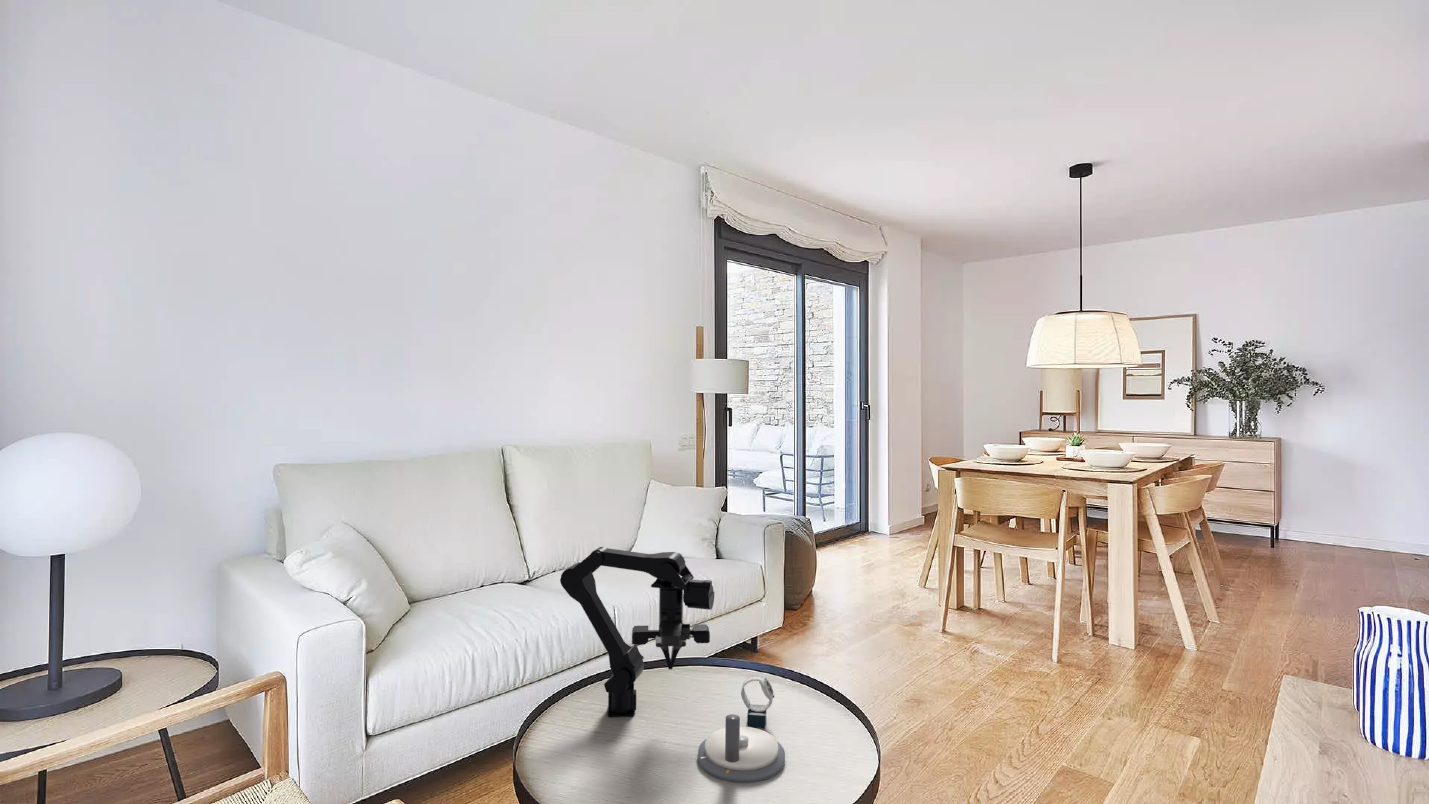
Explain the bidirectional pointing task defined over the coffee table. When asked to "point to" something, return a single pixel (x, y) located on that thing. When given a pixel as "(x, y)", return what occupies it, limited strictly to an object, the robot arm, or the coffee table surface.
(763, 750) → the dial
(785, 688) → the coffee table surface
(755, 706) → the watch
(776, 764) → the dial base
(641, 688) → the coffee table surface
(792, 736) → the coffee table surface
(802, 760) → the coffee table surface
